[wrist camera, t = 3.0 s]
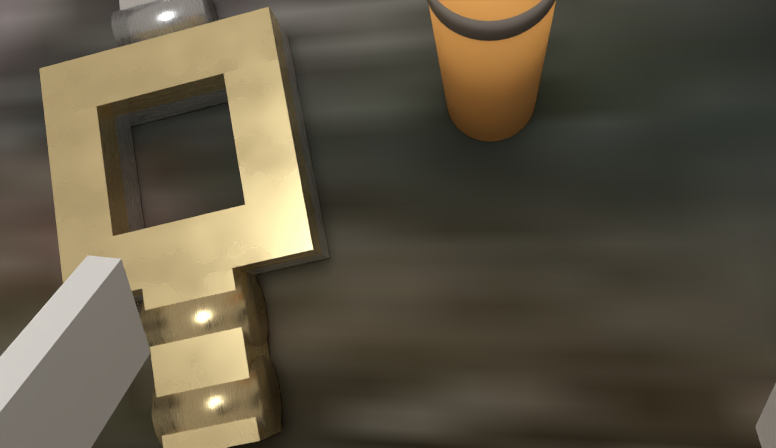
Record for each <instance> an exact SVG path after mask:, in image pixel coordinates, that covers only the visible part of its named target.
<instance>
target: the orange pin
mask: <svg viewBox="0 0 776 448" xmlns="http://www.w3.org/2000/svg"><path fill="white" fill-rule="evenodd" d="M427 2H428V4H429V9H430V14H431V20H432V26H433V31H434V37H435V42H436V48H437V53H438V59H439V64H440V70H441V76H442V81H443V87H444V92H445V98H446V103H447V109H448V112H449V115H450V118H451V120H452V121H453V123H454V124H455V126H456V127H457V128H458V129H459V130H460V131H461V132H463V133H464V134H466V135H467V136H469V137H471V138H473V139H476V140H480V141H488V142H492V141H500V140H504V139H507V138H509V137H511V136H513V135H515V134H516V133H518V132H519V131H520V130H522V129H523V128H524V127H525V126H526V124H527V123H528V122H529V120H530V118H531V116H532V114H533V112H534V108H535V104H536V99H537V94H538V89H539V84H540V79H541V73H542V68H543V63H544V58H545V53H546V48H547V43H548V38H549V33H550V28H551V23H552V18H553V13H554V8H555V3H556V0H427Z"/></svg>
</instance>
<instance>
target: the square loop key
mask: <svg viewBox="0 0 776 448" xmlns="http://www.w3.org/2000/svg"><path fill="white" fill-rule="evenodd" d="M119 3H120V10H119V11H116V12H113V13H112V16H111V25H112V30H113V34H114V37H115V39H116V41H117V43H118V45H119V47H118V48H114V49H111V50H107V51H103V52H99V53H96V54H92V55H88V56H85V57H81V58H77V59H73V60H70V61H66V62H62V63H59V64H55V65H51V66H47V67H44V68H40V78H41V88H42V97H43V106H44V115H45V124H46V133H47V142H48V151H49V160H50V169H51V178H52V188H53V197H54V206H55V215H56V224H57V233H58V242H59V251H60V260H61V269H62V278H63V283H64V282H65V281H66V280H67V279H68V278H69V276H70V275H71V274H72V273H73V272H74V271H75V269H76V268H77V267H78V266H79V265H80V264H81V262H82V261H83V260H84V259H85V258H86V257H87V256H88V255H89V256H99V257H109V258H119V259H122V262H123V265H124V269H125V272H126V275H127V278H128V281H129V285H130V288H131V291H132V294H133V297H134V300H135V302H137V301H142V300H144V301H143V303H142V306H141V312H140V320H141V323H142V326H143V329H144V332H145V335H146V339H147V342H148V345H149V348H150V351H151V352H150V354H149V356H150V358H151V359H152V367H153V374H154V382H155V387H154V391H153V395H152V404H151V410H152V420H153V426H154V430H155V433H156V435H157V438H158V440H159V442H160V444H161V445H162V446H163V448H226V447H231V446H236V445H241V444H246V443H251V442H256V441H260V440H263V439H265V438H267V437H269V436H272V435H274V434H276V433H278V432H281V431H282V426H281V414H282V404H281V394H280V388H279V383H278V379H277V376H276V373H275V370H274V368H273V366H272V364H271V360H270V354H269V348H268V342H267V335H268V317H267V310H266V305H265V301H264V297H263V294H262V291H261V288H260V286H259V284H258V282H257V276H256V275H257V274H261V273H266V272H270V271H274V270H279V269H283V268H288V267H292V266H297V265H301V264H305V263H310V262H314V261H319V260H323V259H328V258H330V256H329V251H328V245H327V240H326V235H325V229H324V224H323V219H322V213H321V208H320V203H319V198H318V192H317V187H316V182H315V176H314V171H313V166H312V160H311V155H310V150H309V144H308V139H307V134H306V128H305V123H304V118H303V113H302V107H301V102H300V97H299V91H298V86H297V81H296V75H295V70H294V65H293V59H292V54H291V49H290V44H289V38H288V36H287V34H286V33H285V31H284V29H283V28H282V26H281V25H280V23H279V22H278V20H277V19H276V17H275V16H274V14H273V13H272V11H271V10H270V8H269V7H267V8H263V9H259V10H255V11H252V12H248V13H244V14H241V15H237V16H233V17H229V18H226V19H222V20H218V18H217V14H216V11H215V8H214V5H213V3H212V0H119ZM226 102H228V103H229V109H230V115H231V121H232V127H233V133H234V139H235V145H236V151H237V157H238V163H239V169H240V175H241V181H242V187H243V193H244V199H245V205H242V206H238V207H234V208H229V209H225V210H221V211H217V212H213V213H208V214H204V215H200V216H196V217H192V218H187V219H183V220H179V221H175V222H171V223H166V224H162V225H158V226H154V227H149V228H145V227H144V219H143V212H142V204H141V197H140V190H139V182H138V175H137V168H136V160H135V153H134V145H133V138H132V131H131V127H132V126H136V125H140V124H144V123H148V122H152V121H156V120H159V119H163V118H167V117H171V116H175V115H179V114H183V113H187V112H191V111H195V110H199V109H203V108H206V107H210V106H214V105H218V104H222V103H226Z"/></svg>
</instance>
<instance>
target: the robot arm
mask: <svg viewBox="0 0 776 448" xmlns="http://www.w3.org/2000/svg"><path fill="white" fill-rule="evenodd" d="M150 352H151V351H150V348H149V345H148V342H147V339H146V335H145V332H144V329H143V326H142V323H141V320H140V316H139V313H138V310H137V307H136V304H135V300H134V297H133V294H132V291H131V288H130V285H129V281H128V278H127V275H126V272H125V269H124V265H123V262H122V259H119V258H109V257H99V256H89V255H88V256H87V257H86V258H85V259H84V260H83V261H82V262H81V264H80V265H79V266H78V267H77V268H76V269H75V271H74V272H73V273H72V274H71V275H70V276H69V278H68V279H67V280H66V281H65V282H64V283H63V285H62V286H61V287H60V288H59V289H58V290H57V292H56V293H55V294H54V295H53V296H52V297H51V298H50V300H49V301H48V302H47V303H46V304H45V305H44V307H43V308H42V309H41V310H40V311H39V312H38V314H37V315H36V316H35V317H34V318H33V319H32V321H31V322H30V323H29V324H28V325H27V326H26V328H25V329H24V330H23V331H22V332H21V333H20V334H19V336H18V337H17V338H16V339H15V340H14V341H13V343H12V344H11V345H10V346H9V347H8V348H7V350H6V351H5V352H4V353H3V354H2V355H1V357H0V448H91V447H92V445H93V444H94V442H95V440H96V439H97V437H98V436H99V434H100V432H101V431H102V429H103V428H104V426H105V424H106V423H107V421H108V420H109V418H110V416H111V415H112V413H113V412H114V410H115V408H116V407H117V405H118V404H119V402H120V400H121V399H122V397H123V396H124V394H125V392H126V391H127V389H128V388H129V386H130V384H131V383H132V381H133V380H134V378H135V376H136V375H137V373H138V372H139V370H140V368H141V367H142V365H143V364H144V362H145V360H146V359H147V357H148V356H149V354H150ZM755 428H756V431H757V434H758V437H759V440H760V443H761V447H762V448H776V383H775V385H774V387H773V390H772V392H771V394H770V396H769V398H768V401H767V403H766V405H765V407H764V409H763V411H762V414H761V416H760V418H759V420H758V422H757V424H756V427H755Z"/></svg>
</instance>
